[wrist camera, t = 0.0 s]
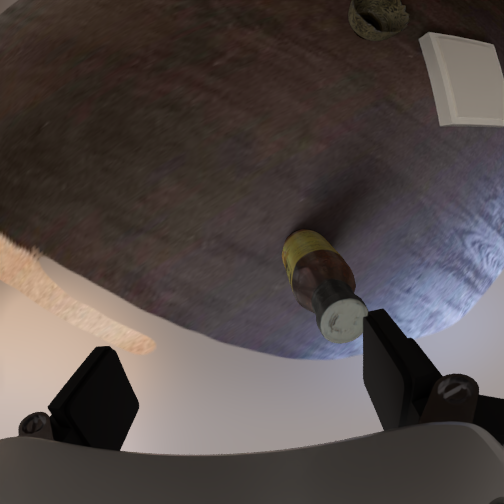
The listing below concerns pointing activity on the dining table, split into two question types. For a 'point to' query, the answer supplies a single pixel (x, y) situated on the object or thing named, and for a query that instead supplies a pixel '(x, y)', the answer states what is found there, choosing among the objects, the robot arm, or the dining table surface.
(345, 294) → the sauce bottle
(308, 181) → the dining table surface
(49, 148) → the dining table surface
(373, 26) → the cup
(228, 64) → the dining table surface
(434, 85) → the pedestal
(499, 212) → the dining table surface
